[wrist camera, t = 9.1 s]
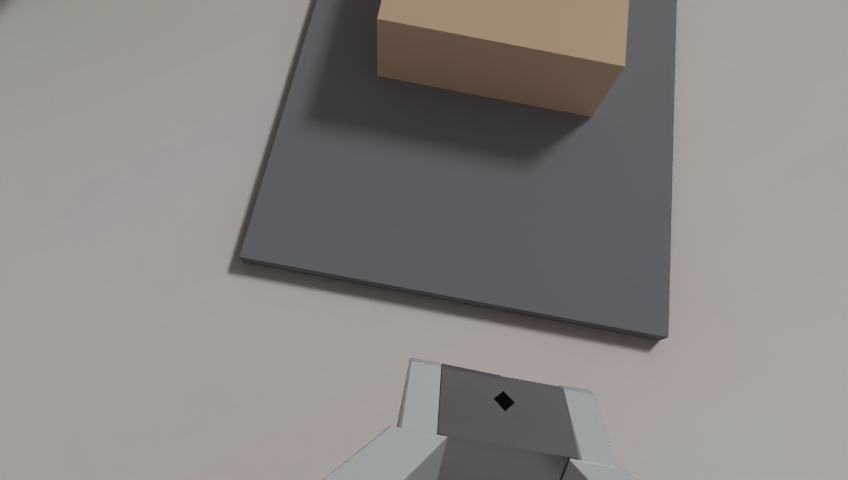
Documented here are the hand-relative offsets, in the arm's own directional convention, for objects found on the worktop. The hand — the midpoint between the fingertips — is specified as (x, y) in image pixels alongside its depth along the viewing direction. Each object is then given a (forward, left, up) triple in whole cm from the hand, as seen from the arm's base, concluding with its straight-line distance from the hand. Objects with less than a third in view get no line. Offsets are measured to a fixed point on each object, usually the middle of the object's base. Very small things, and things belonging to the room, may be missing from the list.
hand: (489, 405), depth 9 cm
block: (+7, +9, -6) cm, 13 cm away
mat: (+9, +11, -8) cm, 16 cm away
